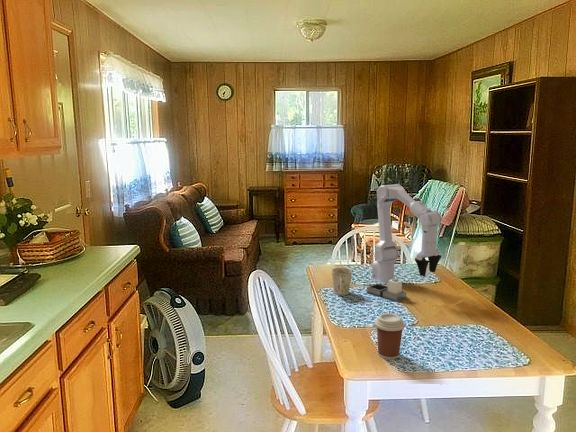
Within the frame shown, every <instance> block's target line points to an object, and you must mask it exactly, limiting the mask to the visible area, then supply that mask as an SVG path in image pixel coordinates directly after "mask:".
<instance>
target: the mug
mask: <svg viewBox="0 0 576 432" xmlns="http://www.w3.org/2000/svg"><path fill="white" fill-rule="evenodd" d="M352 271H353V270H352V269H350V268H348V267H347V268H346V267H335V268H333V269H332V270H331V276H332V285H333V293H334V294H335V295H340V296H345V295H349V292H350V288H351V281H352V274H353V272H352Z"/></svg>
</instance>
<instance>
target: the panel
mask: <svg viewBox="0 0 576 432" xmlns="http://www.w3.org/2000/svg"><path fill="white" fill-rule="evenodd" d="M365 294H368V295H371V296H375V297H378V298H381V299H384V300H387V301H391V302H394V303H398V302H399V301H402V300H405V299H406V298H408V296H407V295H408V294H407V291H405V290H402V293H400V294H398V295H395V294H391V293H388V285H384V284H380V283H374V284H371V285H369V286H367V287H366V292H365Z"/></svg>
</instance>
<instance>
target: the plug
mask: <svg viewBox="0 0 576 432" xmlns="http://www.w3.org/2000/svg"><path fill="white" fill-rule="evenodd" d="M387 286H388V293H391V294H395V295H398V294H400V293H402V291H403V280H401V279H399V278H397V277H394V279H391V280H389V281H388V284H387Z"/></svg>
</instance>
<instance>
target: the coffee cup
mask: <svg viewBox="0 0 576 432" xmlns="http://www.w3.org/2000/svg"><path fill="white" fill-rule="evenodd" d="M377 317H378V318H376V319H375V320H374V326H375V327H376V335H377V338H376V339H377V355H378V356H379V357H381V358H382V359H387V360H394V359H398V358H399V357H400V353H401V352H400V351H401V349H400V348H401V342H402V335H403V330H404V328H406V323H405V322H404V321H403V320H402V317H401V316H400V315H398V314H395V313H390V312H389V313H386V312H385V313H381V314H380V315H378V316H377Z"/></svg>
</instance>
